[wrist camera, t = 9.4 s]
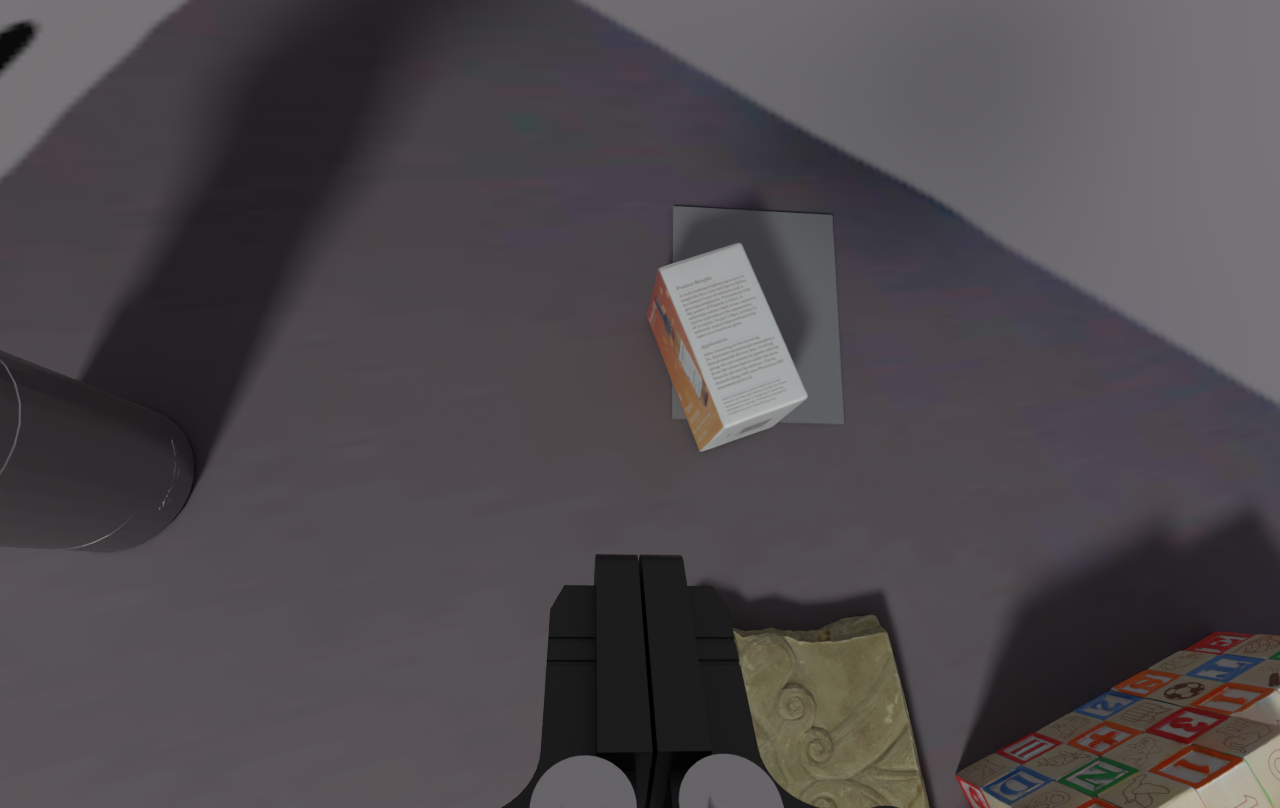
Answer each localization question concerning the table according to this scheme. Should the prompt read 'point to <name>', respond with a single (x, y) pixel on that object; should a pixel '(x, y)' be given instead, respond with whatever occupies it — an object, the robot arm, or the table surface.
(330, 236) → the table surface
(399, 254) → the table surface
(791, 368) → the small box
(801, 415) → the mat
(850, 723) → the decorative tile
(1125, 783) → the stack of blocks
